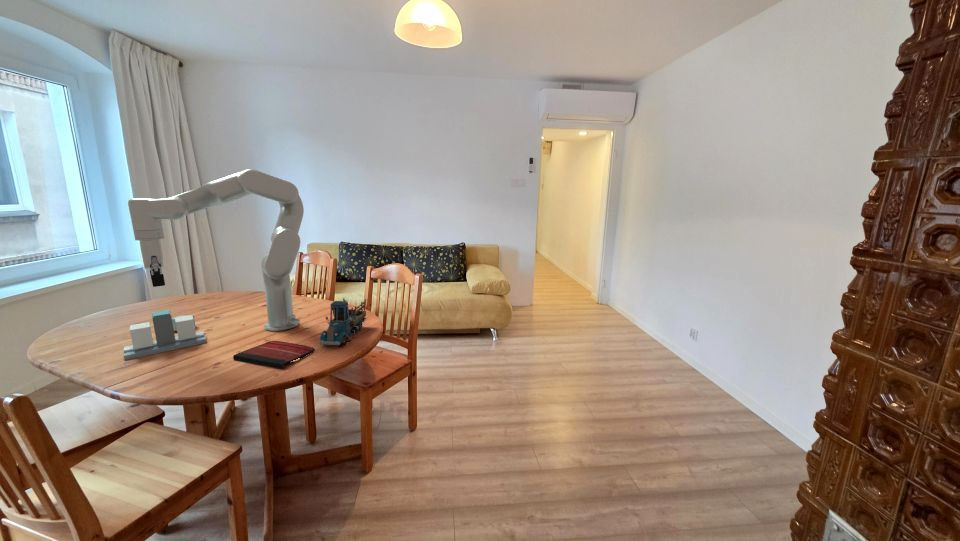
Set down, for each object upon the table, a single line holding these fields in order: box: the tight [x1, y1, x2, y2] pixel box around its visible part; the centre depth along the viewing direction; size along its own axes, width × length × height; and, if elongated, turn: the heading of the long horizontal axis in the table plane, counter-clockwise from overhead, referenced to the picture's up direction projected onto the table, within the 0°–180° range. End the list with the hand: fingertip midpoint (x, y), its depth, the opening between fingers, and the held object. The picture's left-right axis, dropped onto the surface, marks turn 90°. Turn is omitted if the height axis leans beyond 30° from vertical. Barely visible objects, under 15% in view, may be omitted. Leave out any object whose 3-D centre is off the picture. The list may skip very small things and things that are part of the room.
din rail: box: [123, 331, 205, 354], centre depth 131 cm, size 22×4×1 cm, turn 133°
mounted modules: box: [129, 314, 197, 349], centre depth 130 cm, size 17×6×7 cm, turn 133°
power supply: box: [172, 314, 197, 332], centre depth 148 cm, size 6×4×5 cm
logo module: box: [151, 309, 176, 345], centre depth 130 cm, size 5×6×10 cm
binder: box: [232, 340, 316, 370], centre depth 127 cm, size 16×2×21 cm
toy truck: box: [319, 297, 367, 347], centre depth 142 cm, size 11×25×15 cm, turn 176°
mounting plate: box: [123, 330, 207, 361], centre depth 132 cm, size 22×10×2 cm, turn 133°
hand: (158, 283), depth 128 cm, fingers open, 9 cm apart
